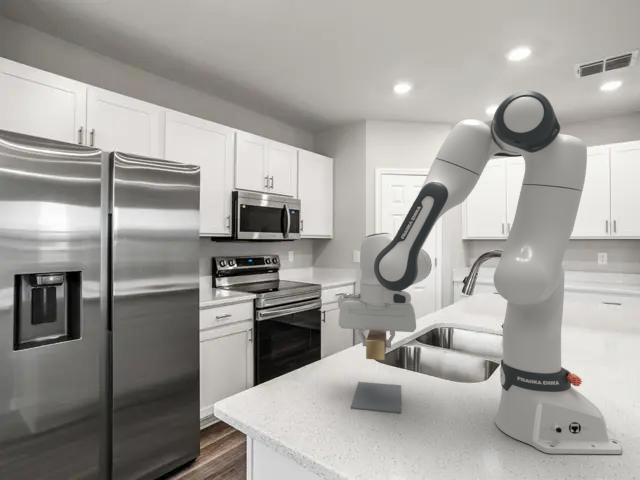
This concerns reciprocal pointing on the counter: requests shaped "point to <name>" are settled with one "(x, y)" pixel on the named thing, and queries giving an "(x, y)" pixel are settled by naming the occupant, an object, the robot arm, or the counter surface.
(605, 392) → the counter surface
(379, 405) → the mat
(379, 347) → the block
